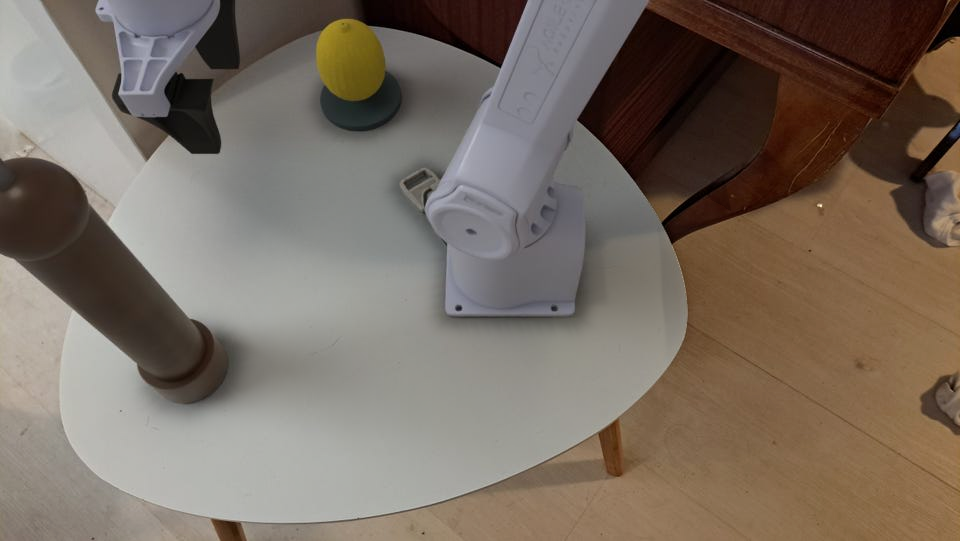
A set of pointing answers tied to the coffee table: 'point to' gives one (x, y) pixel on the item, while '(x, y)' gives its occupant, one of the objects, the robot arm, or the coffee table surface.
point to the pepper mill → (103, 279)
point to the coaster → (363, 107)
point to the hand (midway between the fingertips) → (216, 106)
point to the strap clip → (420, 190)
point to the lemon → (350, 59)
